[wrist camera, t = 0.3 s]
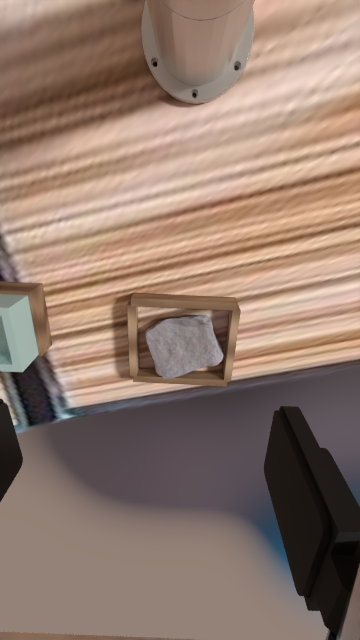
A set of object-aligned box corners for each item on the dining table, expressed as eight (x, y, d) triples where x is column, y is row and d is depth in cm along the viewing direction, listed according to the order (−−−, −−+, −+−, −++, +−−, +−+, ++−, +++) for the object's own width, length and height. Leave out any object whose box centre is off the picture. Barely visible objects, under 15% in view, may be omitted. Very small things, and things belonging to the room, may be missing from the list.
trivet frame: (129, 292, 46) (126, 298, 44) (238, 297, 46) (241, 303, 44) (132, 373, 53) (129, 381, 50) (228, 377, 53) (230, 386, 50)
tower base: (-25, 279, 46) (-46, 288, 42) (43, 282, 46) (29, 291, 42) (-10, 340, 51) (-27, 353, 47) (53, 343, 51) (41, 356, 47)
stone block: (142, 323, 51) (161, 374, 53) (136, 330, 46) (158, 385, 48) (207, 301, 49) (225, 354, 51) (208, 306, 45) (227, 364, 46)
